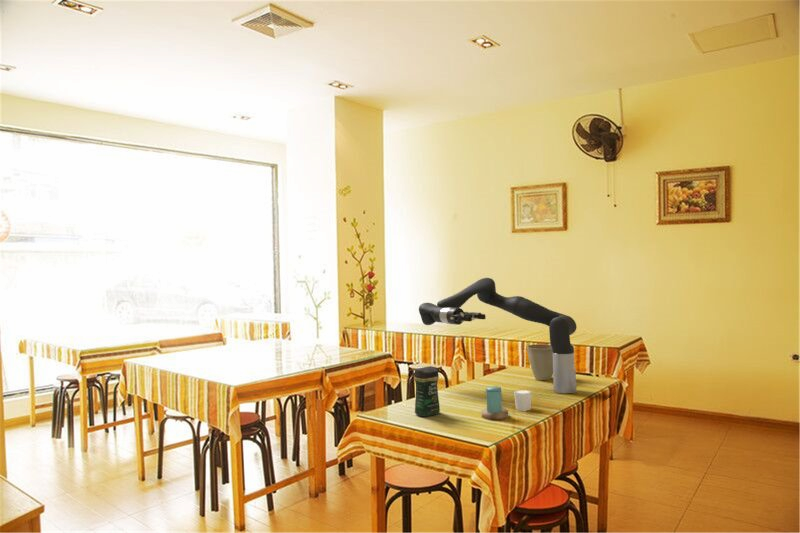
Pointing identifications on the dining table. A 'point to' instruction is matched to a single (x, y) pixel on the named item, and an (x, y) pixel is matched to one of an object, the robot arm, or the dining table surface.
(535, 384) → the dining table surface
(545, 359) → the plant pot
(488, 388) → the teal lidded canister
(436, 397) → the coffee jar
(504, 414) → the post
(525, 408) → the white cup
